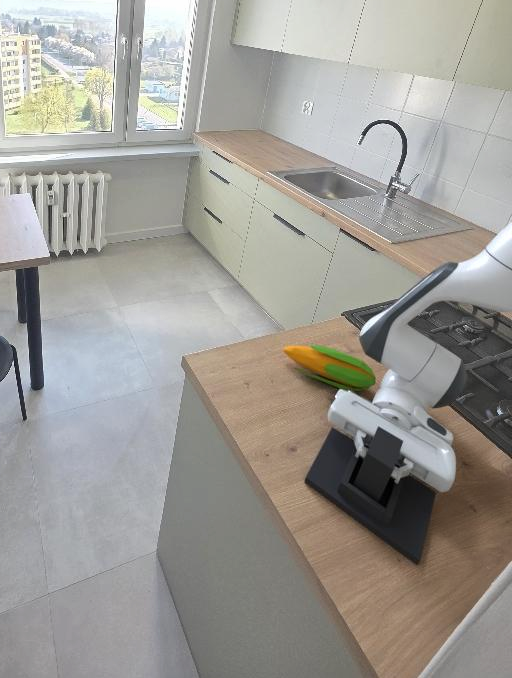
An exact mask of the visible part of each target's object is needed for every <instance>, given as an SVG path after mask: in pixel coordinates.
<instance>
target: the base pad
mask: <svg viewBox="0 0 512 678" xmlns="http://www.w3.org/2000/svg"><path fill="white" fill-rule="evenodd" d="M364 447H366V448H367V449H369V447H368V446H367V445H365V444H364ZM356 452H357V449H356V446H355V443H354V439H352V438H351V437H349V436H347V435H346V434H345V433H343V432H341V431H339V430H338V429H336V428H335V427H333V426H331V428H330V430H329V432H328V434H327V436H326V438H325V440H324V442H323V443H322V445H321V447H320V449H319V451H318V453H317V455H316V457H315V459H314V461H313V462H312V465H311V466H310V468H309V470H308V471H307V473H306V475H305V477H304V481H303V483H304V484H306V485H307V486H309V487H310V488H312V489H313V490H314V491H316V492H317V493H318V494H319V495H320V496H322V497H323V498H325V499H326V500H328V501H329V502H330V503H331V504H333V505H334V506H336V507H337V508H338V509H340V510H341V511H342V512H344V513H345V514H347V516H349V517H350V518H352V519H354V520H355V521H356V522H357V523H359V524H360V525H362V526H363V527H364V528H366V529H367V530H368V531H370V532H371V533H373V534H374V535H375V536H376V537H377V538H379V539H380V540H382V541H383V542H384V543H386V544H387V545H389V546H390V547H391V548H393V549H394V550H396V551H397V552H399V554H401V555H402V556H404V557H405V558H406V559H408V560H409V561H410V562H412V563H413V564H415V565H416V566H418V565H419V564H420V561H421V560H422V555H423V552H424V551H423V550H424V545H425V541H426V537H427V533H428V530H429V529H428V528H429V525H430V520H431V515H432V512H433V507H434V502H435V500H436V499H435V498H436V494H437V493H436V491H435V490H433V489H432V488H430V487H429V486H427V485H425V484H424V483H422V482H421V481H419V480H417V479H416V478H414V477H413V476H411V475H410V474H409V475H408V476H405V477H402V478H400V480H399V482H398V484H397V483H395V482H394V481H392V480H391V479H389V481H388V483H387V485H386V487H385V489H384V491H383V494H382V496H381V498H380V500H379V502H378V503H377V502H376V501H374V500H373V499H372V498H370V497H369V496H367V495H366V494H364V493H363V492H361V491H360V490H359V489H357V488H356V487H354V486H353V485H354V483H355V480H356V478H357V476H358V473H359V471H360V468H361V466H362V464H363V461H362V460H360V459H358V458H357V457H355V455H356ZM395 466H396V467H397V468H400V466H399V465H397V464H395Z"/></svg>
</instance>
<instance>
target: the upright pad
mask: <svg viewBox="0 0 512 678" xmlns="http://www.w3.org/2000/svg"><path fill="white" fill-rule="evenodd" d="M402 444H403V440H401V439H399V438H398V437H396V436H394V435H393V434H391V433H389V432H387V431H386V430H384V429H382V428H381V427H379V426H378V428H377V430H376V433H375V435H374V437H373V440H372V442H371V444H370V447H369V449H368V452H367V454H366V456H365V459H364V461H363V464H362V466H361V468H360V471H359V473H358V476H357V478H356V480H355V483H354V485H353V486H354V487H356V488H357V489H359V490H360V491H361V492H363V493H364V494H366V495H367V496H369V497H370V498H372V499H373V500H374V501H376V502H377V503H378V502H379V500H380V498H381V496H382V494H383V491H384V489H385V487H386V485H387V483H388V481H389V479H390V476H391V474H392V472H393V470H394V467H395V464H396V461H397V458H398V455H399V453H400V450H401V447H402Z"/></svg>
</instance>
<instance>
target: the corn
mask: <svg viewBox="0 0 512 678" xmlns="http://www.w3.org/2000/svg"><path fill="white" fill-rule="evenodd" d="M283 354H284V355H286V356H287V357H288V358H289V359H291V360H292V361H293V362H295V364H297V365H299V366H301V367H303V368H305V369H307V370H309V371H311V372H313V373H315V374H317V375H319V376H317V375H314V374H312V373H309V372H306V371H304V370H302V369H300V368H297V367H293V369H294V370H295V371H298V372H300V373H301V374H304V375H306V376H309V377H311V378H313V379H316V380H317V381H320V382H323V383H326V384H328V385H329V386H333V387H335V388H337V389H339V390H340V389H343V390H347V391H348V390H350V391H353V392H363V391H364V390H365V391H366V390H367V389H370V388H372V387H373V386H374V385H376V382H377V381H376V380H377V379H376V378H377V377H376V375H375V373H374V371H373V369H372V368H371V367H370V366H369V365H368V364H367V363H366V362H365V361H364V360H363V359H359V358H357V357H355V356H353V355H350V354H348V353H345V352H343V351H340V350H338V349H335V348H331V347H328V346H321V345H313V344H312V345H310V346H307V345H292V344H291V345H288V346H285V347H283ZM320 376H322V377H320ZM323 377H324V378H323Z"/></svg>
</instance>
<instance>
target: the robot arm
mask: <svg viewBox="0 0 512 678" xmlns="http://www.w3.org/2000/svg"><path fill="white" fill-rule="evenodd" d="M439 302H455V303H462V304H467V305H471V306H473V307H474V306H475V307H478V308H482V309H486V310H489V311H493V312H499V313H510V314H511V313H512V221H510V222H509V223H508V224H507V225H506V226H505V227H503V229H502V230H500V231H499V232H498V233H497V234H496V235H495V237H493V238H492V239H491V241H490V242H489V243H488V244H487V245H486V246H485V248H484V249H483V250H482V251H481V252H479V253H478V254H477V255H475V256H473V257H471V258H470V259H467V260H464V261H460V262H456V261H455V262H453V261H447V262H445V263H443V264H441V265H440V266H438V267H436V268H434V270H432V271H430V272H429V273H428V274H427V275H426V276H424V277H423V278H422V279H421V280H419V281H417V283H415V284H414V285H413V286H412V287H410V288H409V290H407V291H406V292H405V293H404V294H402V295H401V296H400V297H398V298H397V299H396V300H395V301H394V302H392V303H391V304H390V305H389V306H388V307H386V308H385V309H384V310H382V311H380V312H379V313H378V314H376V315H374V316H373V317H371V318H369V320H368V321H367V322H365V323H364V325H363V326H362V328H361V330H360V332H359V335H358V339H359V343H360V346H361V349H362V351H363V354H364V355H366V356H367V357H368V358H370V359H372V360H374V361H376V362H377V363H379V364H382V365H383V366H385V367H386V368H387V369H388V370H387V371H386V373H385V374H384V376H383V378H382V380H381V382H380V386H379V387H380V388H379V389H378V390H377V391H376V393H375V395H374V397H373V400H372V401H370V400H368V399H367V398H365V397H363V396H362V395H359V394H357V393H356V392H355V391H350V390H348V391H347V390H343V389H340V388H339V389H338V390H337V392H336V393H335V399H334V400H333V402H332V403H331V405H330V407H329V409H328V412H327V419H328V422H329V423H330V424H331V425H333V426H335V427H337V428H338V429H339V430H341V431H343V432H344V433H346V434H348V435H349V436H350V437H352V438H354V439H353V440H354V443H355V446H356V449H357V452H356V455H355V457H357V458H358V459H360V460H362V461H364V459H365V456H366V454H367V452H368V449H367V448H366V447H364V444H365V445H367V446H368V447H370V444H371V442H372V440H373V437H374V435H375V433H376V430H377V428H378V426H379V427H381V428H382V429H384V430H386V431H387V432H389V433H391V434H393V435H394V436H396V437H398V438H399V439H401V440H403V444H402V447H401V450H400V453H399V455H398V458H397V461H396V464H397V465H399V466H400V468H397V467H396V466H395V467H394V470H393V472H392V474H391V476H390V479H391V480H392V481H394V482H395V483H397V484H398V482H399V480H400V478H402V477H405V476H408V475H409V476H410V474H411V475H413V476H414V477H416V478H418V479H419V480H421V481H422V482H424V483H425V484H427V485H428V486H430V487H432V488H434V489H435V490H437V491H438V492H440V493H446V492H449V491H450V489H451V488H452V487H453V484H454V482H455V479H456V471H457V458H456V457H457V456H456V453H455V450H454V448H453V447H452V445H453V441H454V434H453V433H452V432H451V431H450V430H449V429H447V428H446V427H445V426H443V424H441V423H440V422H438V420H436V419H435V418H434V417H432V416H431V415H430V414H429V413H428V411H429V409H430V408H431V409H441V408H445V407H448V406H450V405H452V404H453V403H455V402H456V400H457V399H459V398H460V396H461V394H462V393H463V390H464V388H465V385H466V383H467V380H468V374H467V368H466V364H465V363H464V360H463V359H462V358H460V357H458V355H456V354H454V353H453V352H451V351H450V350H449V349H447V348H446V347H444V346H442V345H441V344H439V343H438V342H435V341H433V340H432V339H431V338H429V337H427V336H426V335H424V334H423V333H421V332H419V331H418V330H416V329H414V328H413V327H411V326H410V325H409V322H411V321H412V320H414V319H415V318H416V317H418V316H419V314H421V313H422V312H423V311H425V310H426V309H428V308H429V307H430V306H431V305H433V304H436V303H439Z"/></svg>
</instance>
